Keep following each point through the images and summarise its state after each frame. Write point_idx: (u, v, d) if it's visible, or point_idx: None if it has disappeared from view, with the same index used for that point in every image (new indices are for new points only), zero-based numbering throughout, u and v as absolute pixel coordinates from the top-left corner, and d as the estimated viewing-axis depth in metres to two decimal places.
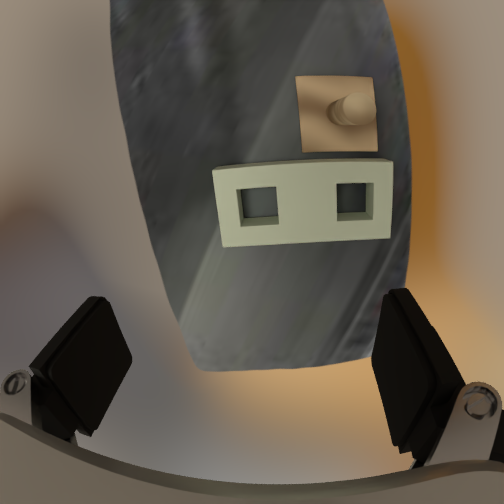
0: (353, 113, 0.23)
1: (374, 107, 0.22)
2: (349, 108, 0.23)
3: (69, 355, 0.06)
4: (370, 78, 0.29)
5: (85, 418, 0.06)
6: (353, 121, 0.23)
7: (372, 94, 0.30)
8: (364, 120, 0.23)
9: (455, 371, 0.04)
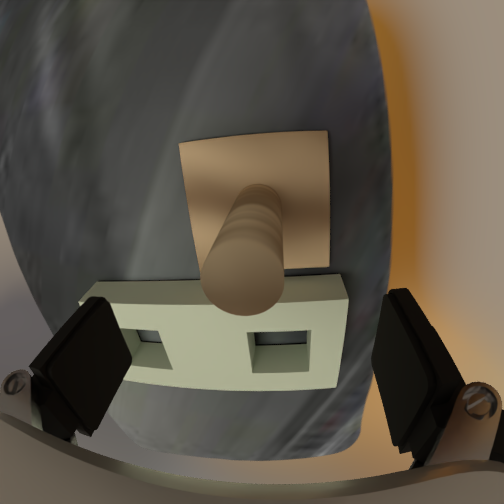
0: (225, 293, 0.11)
1: (278, 276, 0.11)
2: (214, 283, 0.11)
3: (69, 355, 0.06)
4: (323, 133, 0.17)
5: (85, 418, 0.06)
6: (226, 309, 0.12)
7: (325, 165, 0.18)
8: (252, 306, 0.11)
9: (455, 371, 0.04)
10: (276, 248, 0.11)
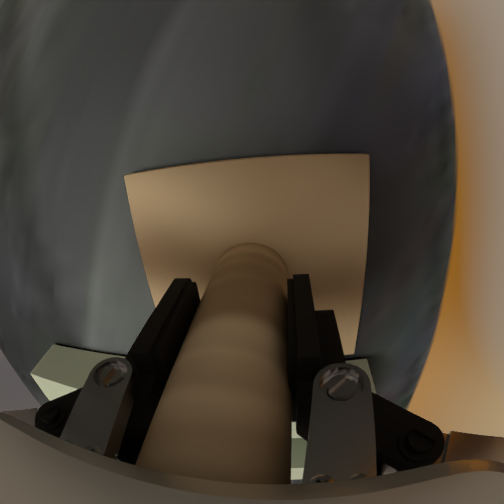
0: None
1: None
2: None
3: (172, 336, 0.07)
4: (362, 158, 0.10)
5: None
6: None
7: (363, 213, 0.11)
8: None
9: (317, 348, 0.06)
10: (276, 474, 0.04)
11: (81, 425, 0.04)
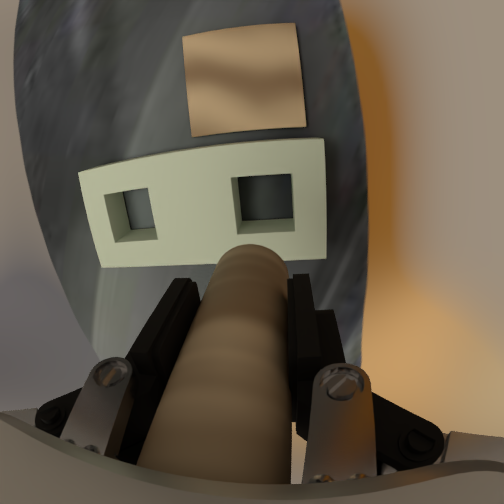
0: None
1: None
2: None
3: (172, 336, 0.07)
4: (291, 24, 0.19)
5: None
6: None
7: (295, 45, 0.19)
8: None
9: (318, 348, 0.06)
10: (276, 476, 0.04)
11: (81, 425, 0.04)
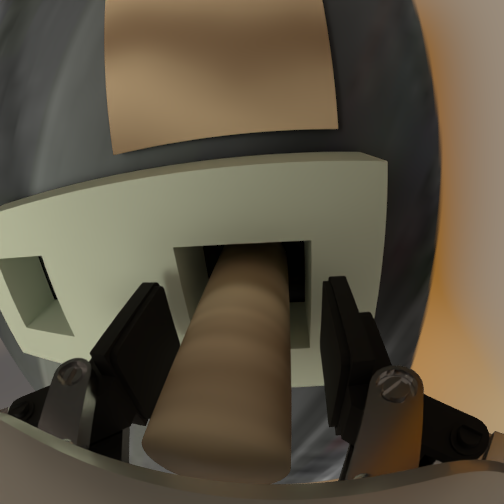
0: (188, 468, 0.05)
1: (280, 465, 0.05)
2: (168, 458, 0.05)
3: (132, 340, 0.07)
4: None
5: (143, 406, 0.07)
6: None
7: None
8: (236, 482, 0.05)
9: (370, 352, 0.06)
10: (279, 410, 0.05)
11: (42, 419, 0.04)
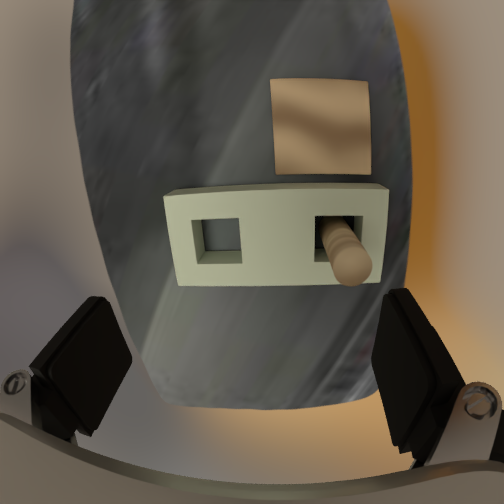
0: (344, 274, 0.22)
1: (370, 265, 0.21)
2: (340, 268, 0.22)
3: (69, 355, 0.06)
4: (365, 82, 0.24)
5: (85, 418, 0.06)
6: (342, 282, 0.22)
7: (367, 102, 0.24)
8: (355, 280, 0.22)
9: (455, 371, 0.04)
10: None
11: None
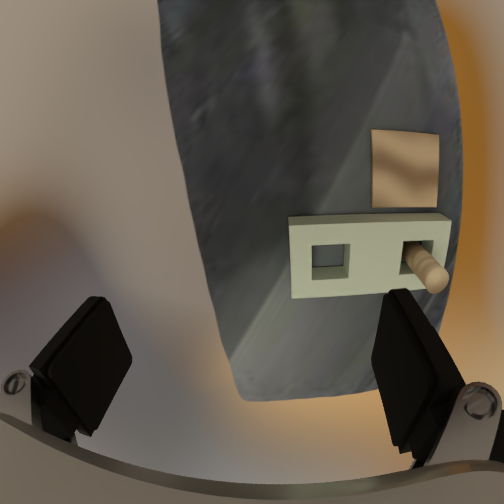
0: (432, 285, 0.28)
1: (447, 279, 0.27)
2: (430, 282, 0.28)
3: (69, 355, 0.06)
4: (437, 135, 0.29)
5: (85, 418, 0.06)
6: (430, 291, 0.28)
7: (437, 152, 0.30)
8: (437, 289, 0.28)
9: (455, 371, 0.04)
10: None
11: None
